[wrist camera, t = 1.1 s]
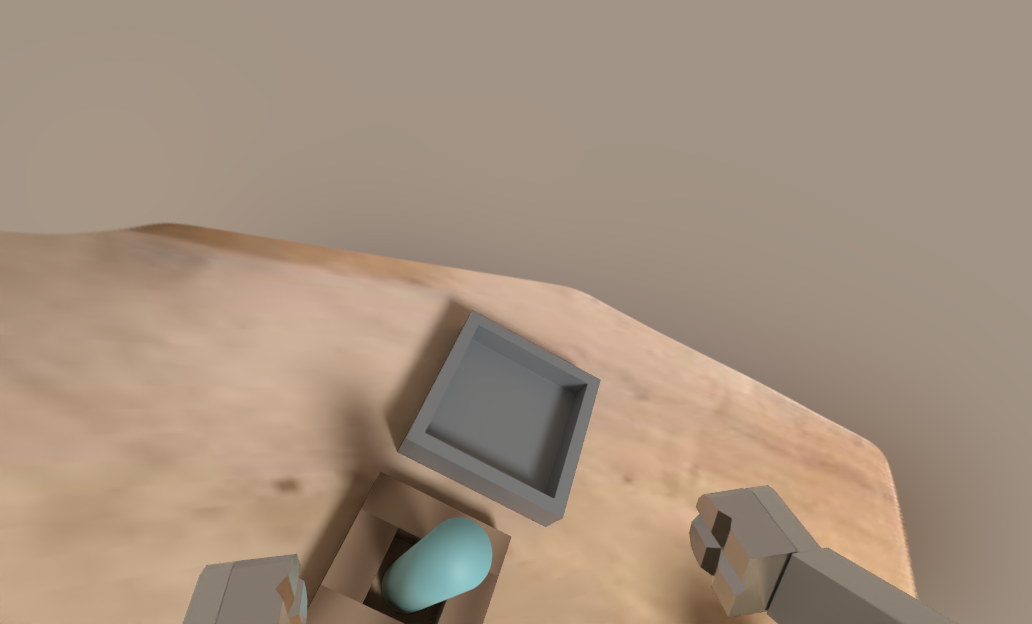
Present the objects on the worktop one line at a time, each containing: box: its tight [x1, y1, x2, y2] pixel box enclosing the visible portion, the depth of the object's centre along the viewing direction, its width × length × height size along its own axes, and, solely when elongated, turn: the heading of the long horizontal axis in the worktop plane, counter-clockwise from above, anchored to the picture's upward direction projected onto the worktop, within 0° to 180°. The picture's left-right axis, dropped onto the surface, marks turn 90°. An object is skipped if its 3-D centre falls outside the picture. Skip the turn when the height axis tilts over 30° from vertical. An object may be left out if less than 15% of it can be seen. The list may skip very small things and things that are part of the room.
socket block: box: [306, 472, 511, 624], centre depth 41 cm, size 12×12×2 cm
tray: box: [398, 310, 600, 527], centre depth 51 cm, size 15×15×4 cm
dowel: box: [382, 517, 492, 614], centre depth 36 cm, size 4×4×14 cm
